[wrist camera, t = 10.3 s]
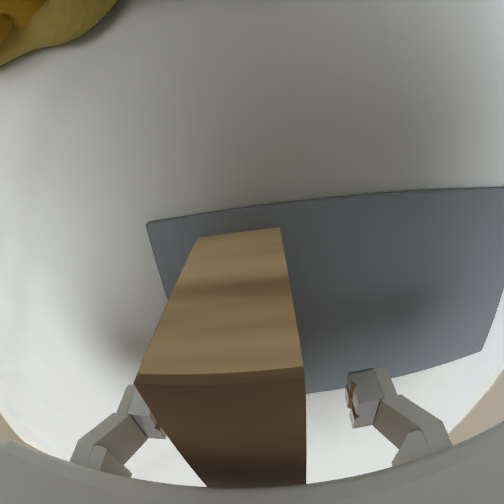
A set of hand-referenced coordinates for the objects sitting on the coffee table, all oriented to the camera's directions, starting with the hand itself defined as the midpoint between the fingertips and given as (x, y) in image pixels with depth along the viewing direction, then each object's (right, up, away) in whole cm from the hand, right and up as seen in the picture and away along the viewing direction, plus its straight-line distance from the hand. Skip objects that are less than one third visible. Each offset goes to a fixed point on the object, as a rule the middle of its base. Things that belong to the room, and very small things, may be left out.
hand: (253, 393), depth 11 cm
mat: (+6, +3, +4) cm, 8 cm away
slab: (0, +2, +4) cm, 4 cm away
